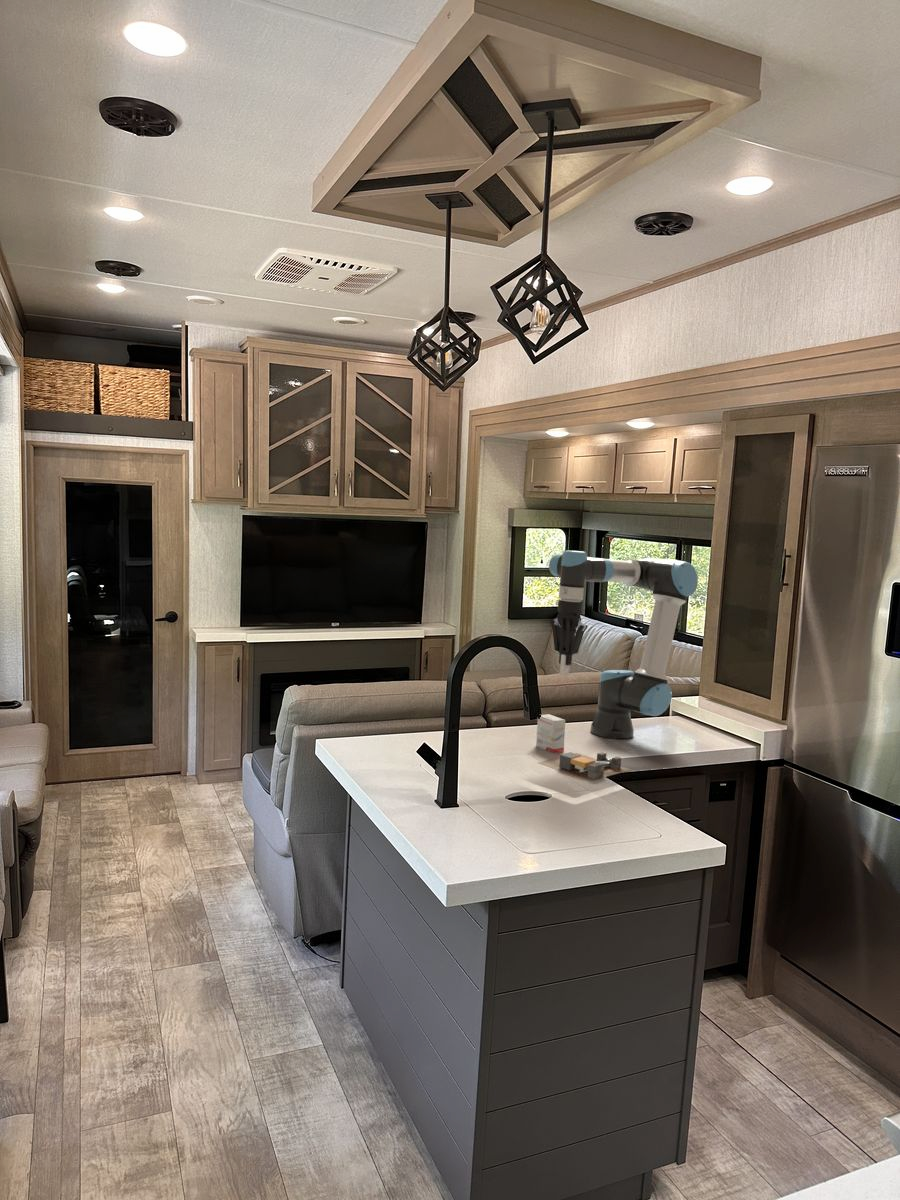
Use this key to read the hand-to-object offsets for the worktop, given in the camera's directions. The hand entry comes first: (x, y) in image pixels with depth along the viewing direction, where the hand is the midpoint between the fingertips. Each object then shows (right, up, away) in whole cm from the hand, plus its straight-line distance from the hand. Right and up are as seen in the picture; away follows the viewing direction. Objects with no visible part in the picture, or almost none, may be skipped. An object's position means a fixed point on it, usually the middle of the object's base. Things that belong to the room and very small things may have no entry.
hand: (564, 674), depth 261 cm
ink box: (-4, -26, +6) cm, 27 cm away
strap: (+7, -26, -14) cm, 31 cm away
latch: (+1, -26, -16) cm, 31 cm away
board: (+4, -28, -11) cm, 30 cm away
